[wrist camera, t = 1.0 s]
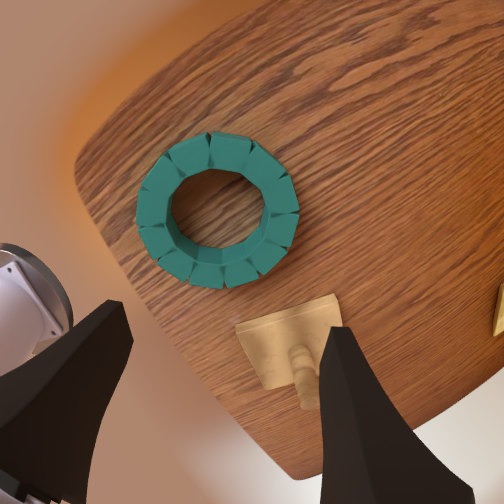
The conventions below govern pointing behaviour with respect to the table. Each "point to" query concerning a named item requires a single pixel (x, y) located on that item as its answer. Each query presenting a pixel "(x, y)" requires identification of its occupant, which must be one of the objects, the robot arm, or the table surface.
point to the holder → (291, 346)
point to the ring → (207, 258)
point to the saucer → (499, 313)
